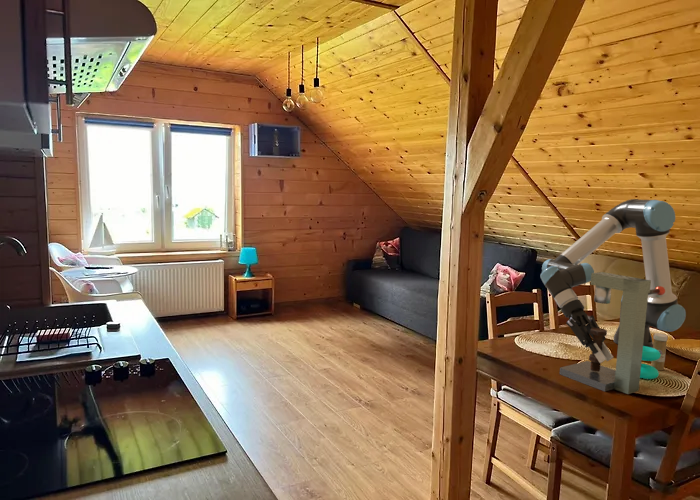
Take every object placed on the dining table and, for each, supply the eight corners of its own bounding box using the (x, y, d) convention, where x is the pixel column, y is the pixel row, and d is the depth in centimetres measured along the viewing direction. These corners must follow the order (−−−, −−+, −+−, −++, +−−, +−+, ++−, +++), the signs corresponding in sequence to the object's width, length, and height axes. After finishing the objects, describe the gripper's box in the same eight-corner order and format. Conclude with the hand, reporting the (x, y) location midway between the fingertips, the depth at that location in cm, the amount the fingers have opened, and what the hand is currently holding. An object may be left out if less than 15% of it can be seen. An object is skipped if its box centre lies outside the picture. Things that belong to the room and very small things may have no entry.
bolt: (601, 374, 184) (605, 332, 183) (586, 371, 187) (589, 330, 185) (603, 369, 189) (607, 329, 188) (588, 366, 192) (592, 326, 190)
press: (559, 374, 192) (567, 271, 187) (600, 363, 204) (608, 267, 199) (620, 397, 172) (631, 283, 167) (661, 384, 184) (672, 277, 179)
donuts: (663, 348, 192) (658, 355, 185) (660, 375, 194) (655, 382, 186) (633, 343, 199) (626, 349, 191) (630, 368, 200) (624, 375, 192)
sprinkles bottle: (652, 370, 198) (655, 335, 197) (648, 366, 203) (652, 332, 201) (665, 371, 197) (669, 336, 196) (662, 367, 202) (665, 333, 200)
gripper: (576, 307, 203) (613, 361, 191) (548, 311, 195) (584, 369, 183) (590, 296, 198) (628, 351, 186) (561, 300, 189) (599, 358, 177)
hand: (606, 360), depth 184 cm, fingers closed on bolt, 3 cm apart
